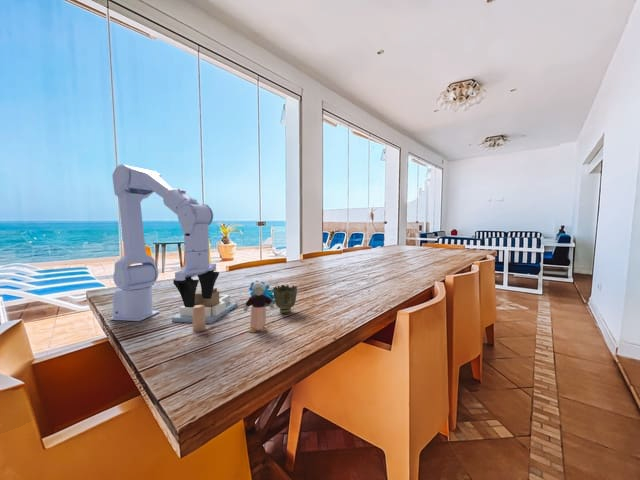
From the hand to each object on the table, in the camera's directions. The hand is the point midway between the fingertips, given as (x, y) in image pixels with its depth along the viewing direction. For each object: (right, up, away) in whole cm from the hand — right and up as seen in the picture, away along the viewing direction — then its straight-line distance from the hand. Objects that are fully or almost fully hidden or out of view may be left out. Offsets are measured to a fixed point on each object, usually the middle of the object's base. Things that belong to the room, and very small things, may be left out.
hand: (198, 302), depth 68 cm
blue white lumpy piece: (+12, -6, +24) cm, 27 cm away
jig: (-3, -6, +13) cm, 15 cm away
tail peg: (0, -7, 0) cm, 7 cm away
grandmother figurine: (+16, -7, 0) cm, 18 cm away
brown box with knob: (-3, -5, +10) cm, 12 cm away
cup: (+21, -7, +13) cm, 26 cm away
